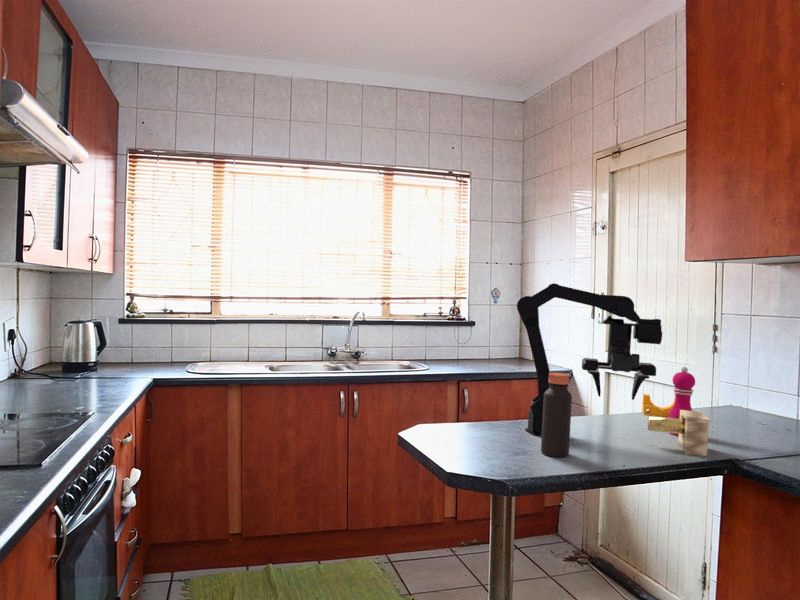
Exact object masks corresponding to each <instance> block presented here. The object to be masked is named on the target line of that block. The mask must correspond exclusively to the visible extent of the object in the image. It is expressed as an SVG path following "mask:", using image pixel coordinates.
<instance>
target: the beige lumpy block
mask: <svg viewBox="0 0 800 600" xmlns="http://www.w3.org/2000/svg"><path fill="white" fill-rule="evenodd" d="M680 419H685V434H679V436H677V438H678V440H677V445H679V447H680V449H681V451H682V452H683V453H684V454H685V455H691V456H701V457H708V446H709V445H708V443H709V427H710V419H709V418H708V417H707V416H706V415H704V414H703V413H702V412H701V411H696V410H692V411H688V410H680Z"/></svg>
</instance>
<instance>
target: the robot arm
mask: <svg viewBox="0 0 800 600" xmlns="http://www.w3.org/2000/svg"><path fill="white" fill-rule="evenodd" d="M555 298H557V299H561V300H565V301H570V302H573V303H578V304H582V305H587V306H590V307H595V308H598V309H601V310H602V311H605V312H608V313H609V314H613V315H615V316H617V317H619V318H613V317H612V316H611V315H608V316H607V317H606V318H605V319H604V320H602V324H603V325H609V328H608V329H609V330H608V342H607V343H608V344H607V361H606V362H605V361H599V360H598V359H597V358H589V357H584V358H582V360H581V369H582V370H583V371H586V372H587V373H588V374H591V376H592V377H593V382H594V383H595V384H594V385H595V387H596V391H597V396H598V397H601V393H602V391H601V377H600V376H601V372H600V371H599V370H601V369H603V370H611V371H613V372H624V373H630V372H635V373H634V377H633V383H632V389H631V400H633V401H634V400H635V398H636V396H637V393H638V391H639V388H641V386H642V384H643V382H644V381H645V380H646V379H650V376H651V377H656V376H657V367H656V366H655V365H654V364H653V363H651V362H642V361H641V362H640V358H641V357H640V354H638V353H631V346H632V345H631V344H632V338H633V340H636V342H637V343H638V344H648V345H649V344H651V345H661V343H662V339H663V331H662V320H661V319H660V318H652V319H650V318H649V319H648V318H640V315H639V314H638V313H637V312H636V311H635V303H634V301H633V300H632V298H630V297H629V296H625V295H613V294H612V295H611V294H610V295H609V294H598V293H594V292H590V291H587V290H582V289H577V288H574V287H569V286H568V287H567V286H564V285H560V284H558V283H550V284H549V285H548V286H547V287H545V288H543V289H542V290H540V291H538V292H536V293H535V294H534V295H531V296H530V295H525V296H523V297H521V298H520V299H519V300H518V301H517V303H516V308H517V309H516V310H517V312H518V314H519V316H520V319H521V321H522V323H523V326H524V328H525V329H526V332H527V337H528V342H529V346H530V350H531V355H532V358H533V363H534V367H535V372H536V375H537V393H538V395H537V396H535V397H534V398H533V399H531V402H530V409H528V413H527V415H528V419H527V427H525V428H524V430H525V431H527V433H530V434H532V435H533V436H537V437H538V436H542V420H543V401H544V392H545V391H546V390H547V389H549V386H550V384H548V383H549V382H548V379H549V373H551V369H550V367H549V363H548V358H547V354H546V350H545V346H544V345H545V344H544V340H543V337H542V334H541V329H540V316H539V315H540V313H539V311H540V310H539V308H540V307H542V306H543V305H545V304H546V303H548V302H549V301H552V300H554V299H555ZM623 318H625V319H626V320H628V321H631V322H634V323H630V322H629V323H628V322H625V321H624V319H623ZM632 328H633V330H632Z"/></svg>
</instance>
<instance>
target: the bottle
mask: <svg viewBox="0 0 800 600" xmlns="http://www.w3.org/2000/svg"><path fill="white" fill-rule="evenodd" d="M548 382H549V383H548V384H550V386H549V389H547V390H546V391H545V392H544V401H543V420H542V435H541V442H540V452H541V453H542V454H543V455H545V456H548V457H552V458H553V457H554V458H565V457H568V456H569V455H570V440H571V422H572V406H573V405H572V404H573V403H572V402H573V401H572V399H573V395H572V393H571V392H570V391H569V389H568V386H569V384H570V374H567V373H563V372H562V373H561V372H550V373H549V379H548Z"/></svg>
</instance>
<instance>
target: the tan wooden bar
mask: <svg viewBox="0 0 800 600" xmlns="http://www.w3.org/2000/svg"><path fill="white" fill-rule="evenodd" d="M646 424H647V431H650V432H651V431H652V432H659V433H669V434H670V433H677V434H685V419H679V418H668V416H664V417H661V416H652V415H647V423H646Z"/></svg>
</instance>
